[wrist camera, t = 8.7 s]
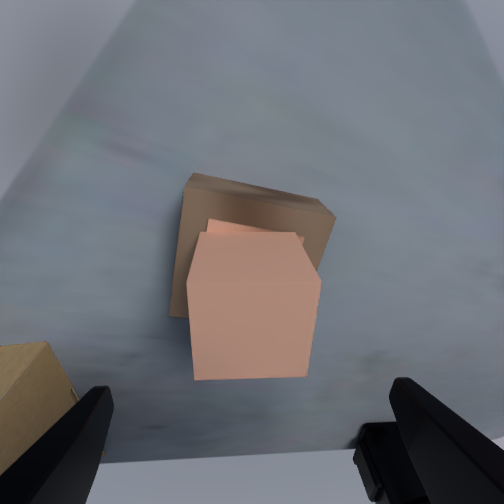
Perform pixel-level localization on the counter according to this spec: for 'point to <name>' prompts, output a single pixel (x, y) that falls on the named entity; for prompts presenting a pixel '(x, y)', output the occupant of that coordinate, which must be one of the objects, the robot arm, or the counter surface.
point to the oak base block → (242, 222)
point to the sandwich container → (30, 397)
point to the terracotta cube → (251, 305)
